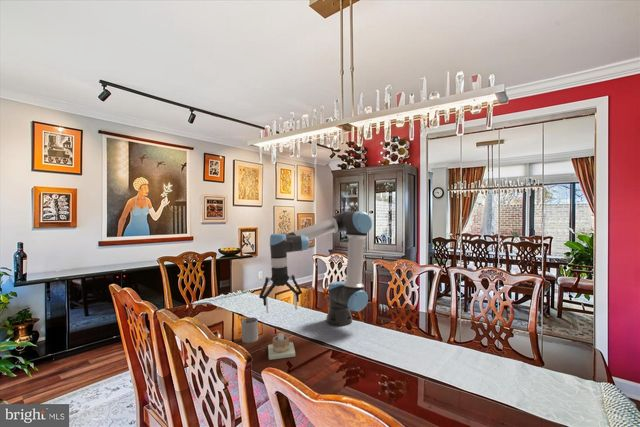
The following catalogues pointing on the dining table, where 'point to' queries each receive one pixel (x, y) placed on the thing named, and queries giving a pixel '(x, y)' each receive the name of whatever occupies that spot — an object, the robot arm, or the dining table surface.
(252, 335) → the cup
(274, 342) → the ring
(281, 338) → the post stand
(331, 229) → the robot arm
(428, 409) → the dining table surface
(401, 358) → the dining table surface
